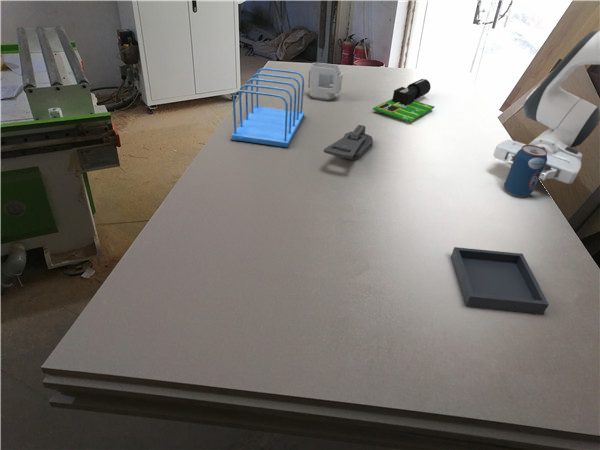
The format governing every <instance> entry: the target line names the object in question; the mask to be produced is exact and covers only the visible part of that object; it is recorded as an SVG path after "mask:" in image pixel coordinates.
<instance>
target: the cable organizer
mask: <svg viewBox="0 0 600 450" xmlns="http://www.w3.org/2000/svg"><path fill="white" fill-rule="evenodd" d="M343 75H344V72H342V71H341V69H340V67H339V65H338V64H335V63H334V64H332V63H326V62H325V63H323V62H312V64H310V68H309V69H308V77H307V88H308V89H309V96H310V97H311V98H312V99H314V100H320V101H321V100H322V101H329V102H330V101H331V100H334V98H335V97H336V95H339V94H340V92H341V91H342V84H343Z"/></svg>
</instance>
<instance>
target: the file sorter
mask: <svg viewBox="0 0 600 450" xmlns="http://www.w3.org/2000/svg"><path fill="white" fill-rule="evenodd" d="M261 71H271V72H279V73H288V74H294V75H295V74H296V75H299V77H301V81H302V82H301V83H300V81H299V79H297V78H296V77H294V76H287V75H280V74H272V73H263V72H261ZM259 76H262V77H263V76H264V77H270V78H271V77H273V78H280V79H281V78H282V79H287V80H294V81H295V82H296V84H297V86H298V87H297V88H296V87H295V85H294V84H293V83H291V82H287V81H280V80H272V79H263V78H259ZM254 81H255V82H256V83H255V84H254ZM259 82H264V83H271V84H279V85H280V84H281V85H288V86H290V87H292V89H293V91H294V96H292V94H291V92H290V90H288V89H287V88H283V87H276V86H268V85H261V84H260V85H259ZM248 87H249V88H250V90H248ZM243 88H245V90H243ZM254 88H256V91H254ZM259 88H260V89H268V90H275V91H283V92H286V93H287V94H288V97H289V103H288V101H287V99H286V98H285V97H284V96H282V95H280V94H274V93H269V92H260V91H259ZM304 88H305V77H304V76H303V74H302V73H301V72H298V71H293V70H287V69H278V68H268V67H261V68H260V69H258V70H257V72H256V73H254V74H253V75H252V76H251V78H249V79H248V80H247V81H246V83H244V84H243V85H241V86H240V88H239V90H236V91H235V93H233V96H232V113H233V114H232V115H233V132H232V133H231V140H233V141H240V142H249V143H255V144H262V145H269V146H275V147H282V148H283V147H284V148H289V146H290V144H291V142H292V140H293V138H294V136H295V134H296V132H297V130H298V129H299V127H300V125H301V123H302V121H303V119H304V118H305V112H304V111H303V104H304V92H305V91H304V90H305V89H304ZM242 93H244V94H245V115H246V116H245V118H244V119H243V108H242V107H243V106H242ZM237 94H238V102H239V103H238V104H239V122H240V124H239V125H238V126H237V116H236V96H237ZM248 94H250V102H251V103H250V104H251V109H250V110H251V111H250V112H249V101H248V96H249V95H248ZM254 95H256V97H255V98H256V99H255V101H256V105H255V106H254ZM259 96H268V97H274V98H280V99H281V100H283V101H284V105H285V109H282V108H275V107H269V106H260V105H259ZM300 96H301V97H300ZM293 97H294V98H293ZM288 104H289V105H288Z"/></svg>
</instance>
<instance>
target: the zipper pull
mask: <svg viewBox="0 0 600 450" xmlns="http://www.w3.org/2000/svg"><path fill="white" fill-rule="evenodd" d="M373 143H374V139H373V136H372V135H370V134H367V133H366V125H363V124H357V126H356V127H355V128H354V130H353V131H349V132H346V133H344V135H343V137H341V138H340V139H338V140H337V141H334V143H332V144H329V145H328V146H327V147H325V148H324V149H323V153H325V154H328V155H331V156H335V157H339V158H342V159H345V160H349V161H356V160H357V161H359V160H361V158H362V157H364V155H365V154H366V153H367V152H369V151H370V150H371V149H372V147H373Z"/></svg>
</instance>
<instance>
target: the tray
mask: <svg viewBox="0 0 600 450" xmlns="http://www.w3.org/2000/svg"><path fill="white" fill-rule="evenodd" d="M450 259H451V261H452V265H453V268H454V271H455V274H456V278H457V282H458V284H459V289H460V291H461V295H462V298H463V301H464V304H465V307H471V308H480V309H488V310H500V311H508V312H517V313H518V312H519V313H529V314H539V315H544V313H545V311H546V310H547V308H549V305H550V303H549V302H548V300H547V297H546V296H545V294H544V292H543V290H542V288H541V287H540V284H539V283H538V281H537V279H536V277H535V275H534V273H533V271H532V269H531V266H530V265H529V263H528V261H527V259H526V257H525V256H524V254H523V253H518V252H511V251H498V250H488V249H477V248H467V247H457V246H454V247H453V250H452V252H451V255H450Z"/></svg>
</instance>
